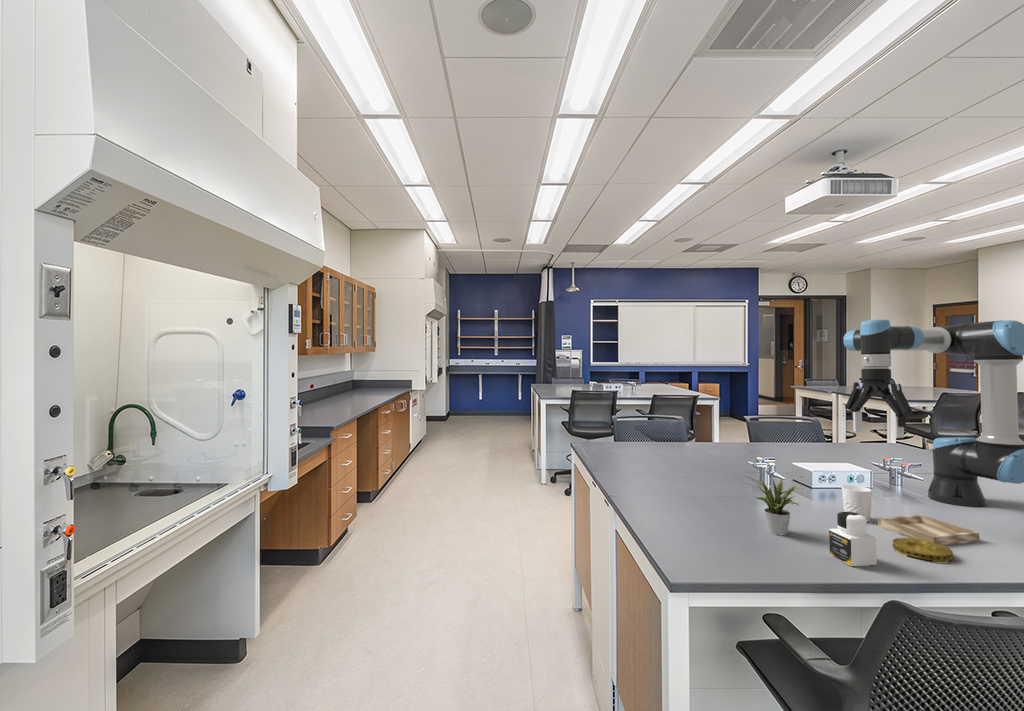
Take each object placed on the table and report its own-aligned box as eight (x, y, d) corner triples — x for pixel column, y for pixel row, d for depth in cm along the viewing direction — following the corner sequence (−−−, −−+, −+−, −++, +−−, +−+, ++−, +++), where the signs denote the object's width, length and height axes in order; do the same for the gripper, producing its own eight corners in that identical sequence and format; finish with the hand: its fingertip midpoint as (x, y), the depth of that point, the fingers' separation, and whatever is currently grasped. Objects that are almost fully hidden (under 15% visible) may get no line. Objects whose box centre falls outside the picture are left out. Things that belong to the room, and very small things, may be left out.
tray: (919, 522, 146) (919, 514, 146) (979, 541, 130) (979, 532, 130) (877, 526, 143) (877, 518, 143) (933, 546, 127) (933, 537, 127)
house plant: (813, 545, 128) (812, 486, 129) (757, 539, 133) (756, 482, 134) (801, 528, 142) (799, 475, 142) (751, 523, 147) (750, 472, 147)
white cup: (864, 524, 145) (863, 492, 145) (837, 517, 152) (836, 487, 152) (877, 520, 148) (876, 489, 148) (850, 513, 155) (849, 484, 155)
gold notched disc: (890, 554, 123) (889, 546, 123) (895, 542, 131) (895, 534, 131) (952, 568, 114) (951, 559, 114) (953, 554, 123) (953, 546, 123)
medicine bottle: (828, 555, 122) (827, 509, 122) (854, 554, 123) (853, 509, 123) (851, 567, 115) (849, 518, 115) (877, 565, 115) (876, 517, 116)
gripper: (832, 367, 159) (833, 429, 158) (906, 368, 134) (908, 441, 134) (850, 367, 160) (851, 428, 160) (927, 368, 136) (929, 440, 135)
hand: (877, 434), depth 147 cm, fingers open, 13 cm apart
